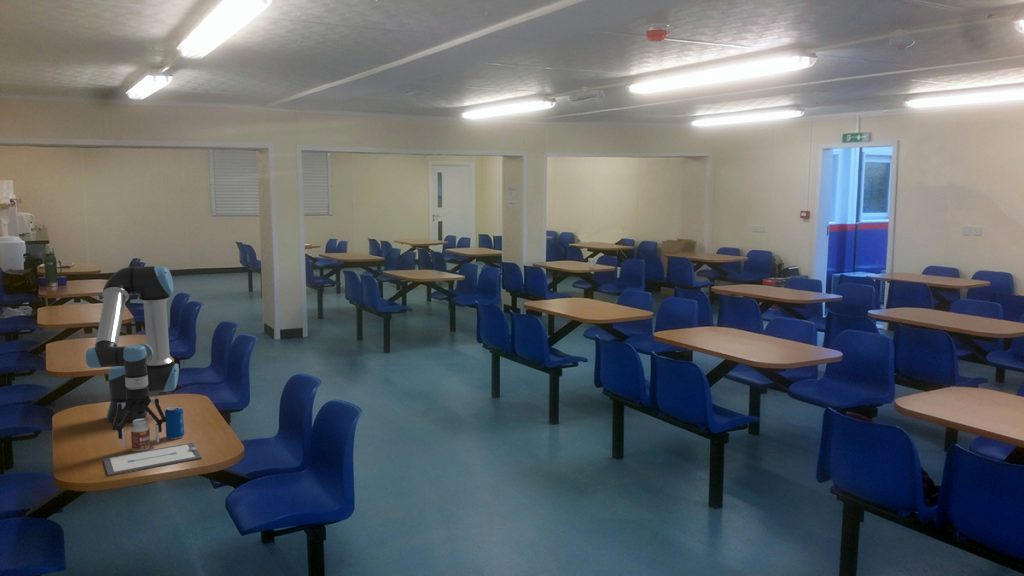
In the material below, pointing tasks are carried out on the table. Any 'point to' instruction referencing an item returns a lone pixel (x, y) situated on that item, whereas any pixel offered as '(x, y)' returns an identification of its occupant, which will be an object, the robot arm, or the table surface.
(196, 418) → the table surface
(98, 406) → the table surface
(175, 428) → the beverage can
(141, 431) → the pill bottle
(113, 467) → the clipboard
